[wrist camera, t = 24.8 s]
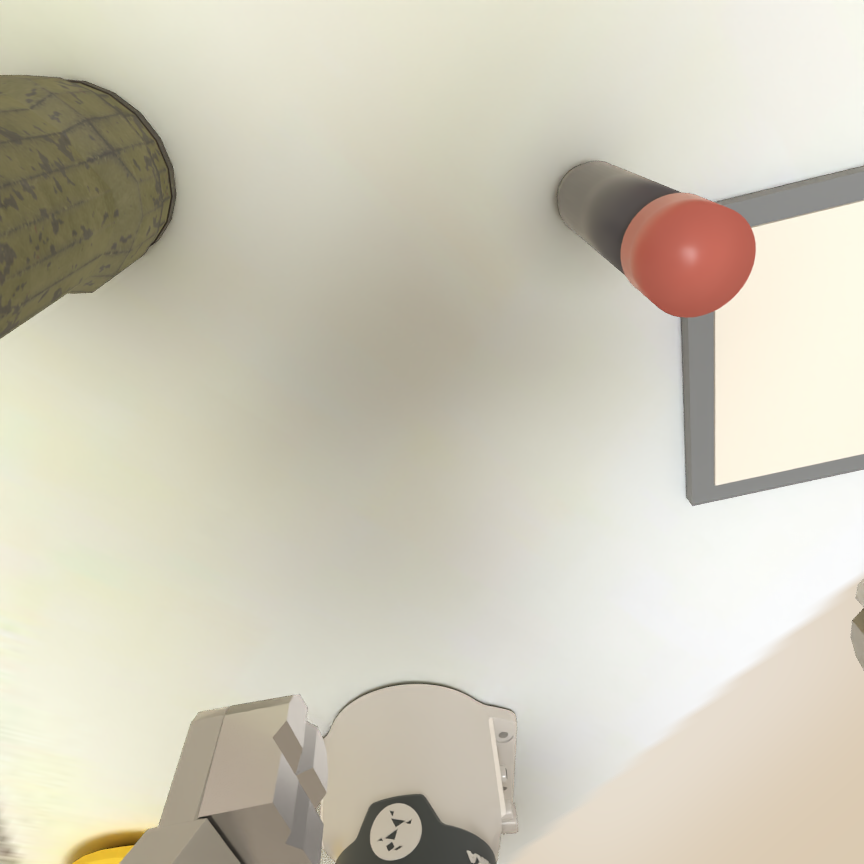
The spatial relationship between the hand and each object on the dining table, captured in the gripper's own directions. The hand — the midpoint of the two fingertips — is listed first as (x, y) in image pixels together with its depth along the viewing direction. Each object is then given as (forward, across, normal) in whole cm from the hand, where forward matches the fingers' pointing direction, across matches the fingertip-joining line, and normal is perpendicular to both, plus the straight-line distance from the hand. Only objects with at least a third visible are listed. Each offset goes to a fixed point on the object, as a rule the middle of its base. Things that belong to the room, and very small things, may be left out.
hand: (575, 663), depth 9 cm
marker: (+29, +8, 0) cm, 30 cm away
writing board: (+29, +21, -12) cm, 38 cm away
